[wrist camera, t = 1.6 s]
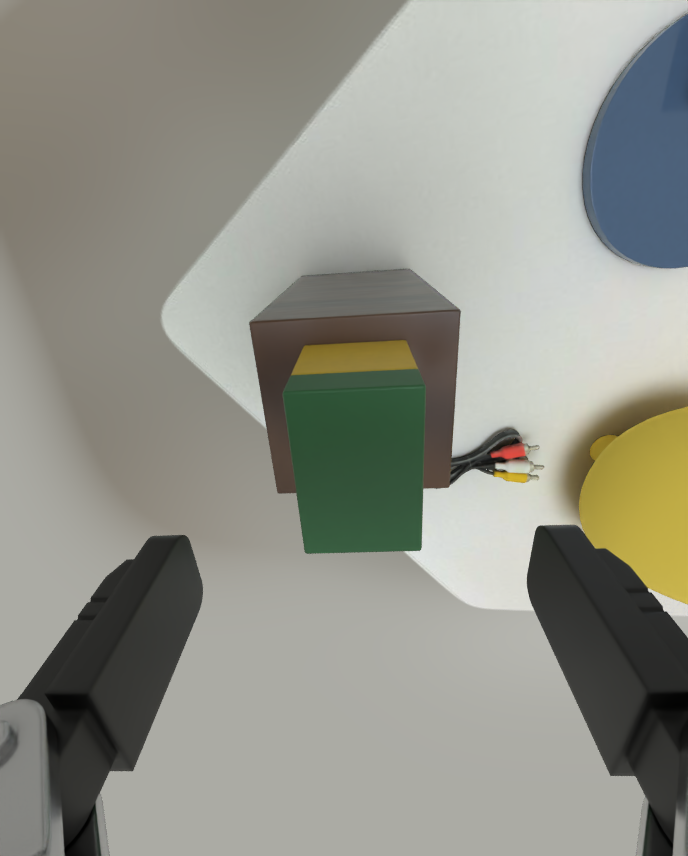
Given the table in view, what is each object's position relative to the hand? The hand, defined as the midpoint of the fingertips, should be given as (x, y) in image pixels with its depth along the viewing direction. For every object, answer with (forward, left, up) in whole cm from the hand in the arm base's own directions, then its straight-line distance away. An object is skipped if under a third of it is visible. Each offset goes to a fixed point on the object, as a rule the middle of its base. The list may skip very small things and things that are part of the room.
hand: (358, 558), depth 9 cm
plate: (-10, +22, -24) cm, 34 cm away
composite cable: (+12, +10, -24) cm, 29 cm away
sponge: (0, 0, -8) cm, 8 cm away
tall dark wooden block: (0, 0, -24) cm, 24 cm away
